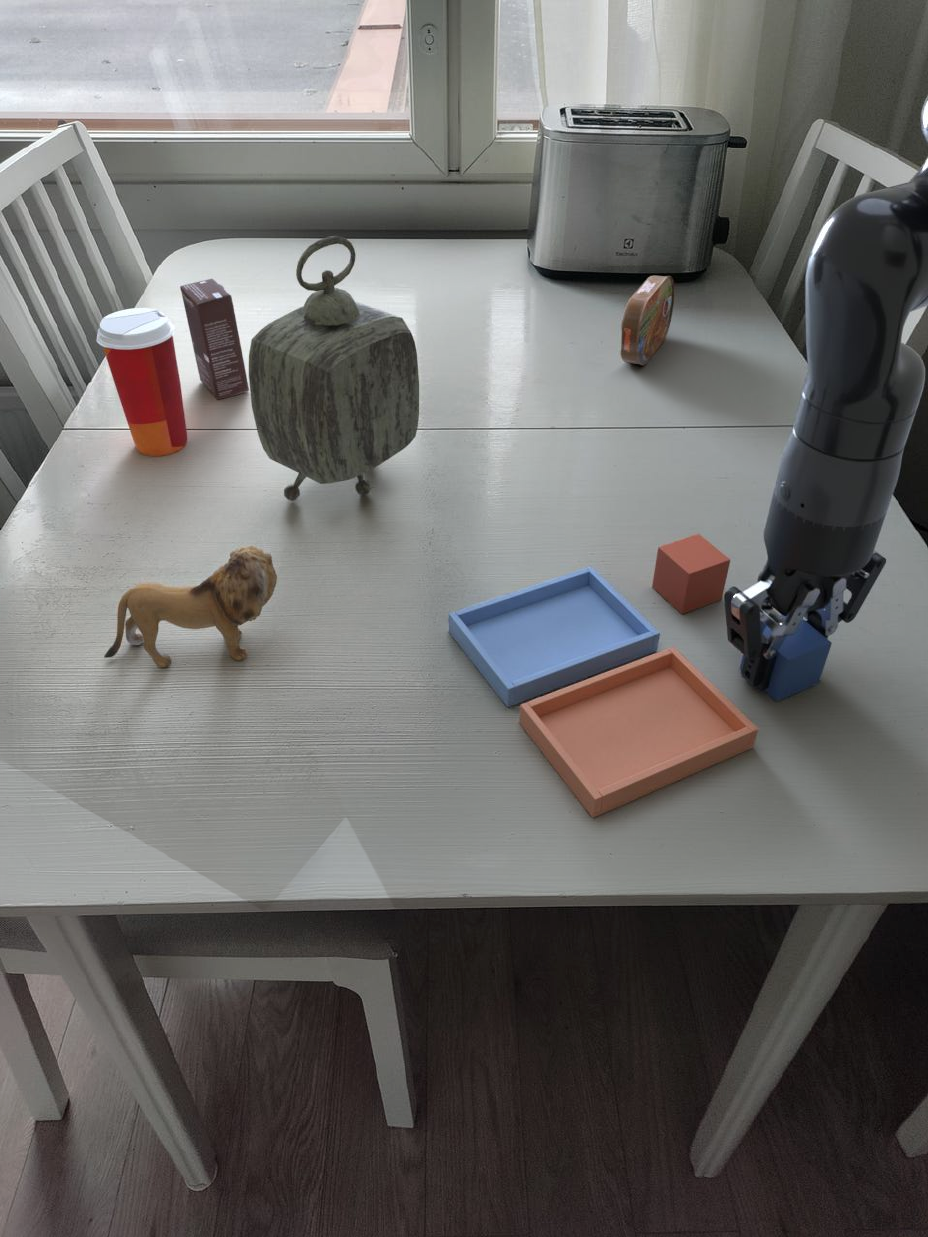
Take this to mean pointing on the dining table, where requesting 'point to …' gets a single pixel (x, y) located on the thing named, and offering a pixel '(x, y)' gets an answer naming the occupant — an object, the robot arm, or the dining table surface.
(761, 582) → the robot arm
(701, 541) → the terracotta block
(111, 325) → the paper cup
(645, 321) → the tin
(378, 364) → the tabletop clock
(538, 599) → the blue tray
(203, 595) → the lion figurine
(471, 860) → the dining table surface
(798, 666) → the blue block
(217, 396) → the box
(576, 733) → the clay tray
